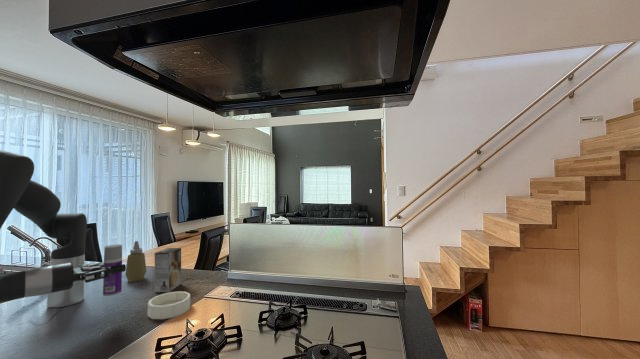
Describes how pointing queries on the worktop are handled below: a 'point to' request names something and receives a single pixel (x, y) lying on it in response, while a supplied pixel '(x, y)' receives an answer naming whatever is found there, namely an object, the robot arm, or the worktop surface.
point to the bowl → (168, 305)
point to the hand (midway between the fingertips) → (122, 265)
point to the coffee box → (167, 269)
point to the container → (114, 281)
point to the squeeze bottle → (136, 264)
